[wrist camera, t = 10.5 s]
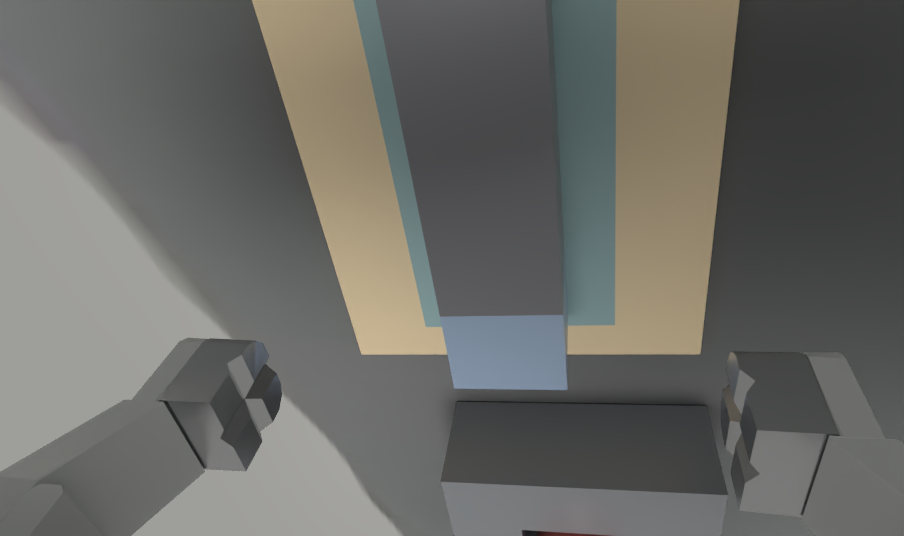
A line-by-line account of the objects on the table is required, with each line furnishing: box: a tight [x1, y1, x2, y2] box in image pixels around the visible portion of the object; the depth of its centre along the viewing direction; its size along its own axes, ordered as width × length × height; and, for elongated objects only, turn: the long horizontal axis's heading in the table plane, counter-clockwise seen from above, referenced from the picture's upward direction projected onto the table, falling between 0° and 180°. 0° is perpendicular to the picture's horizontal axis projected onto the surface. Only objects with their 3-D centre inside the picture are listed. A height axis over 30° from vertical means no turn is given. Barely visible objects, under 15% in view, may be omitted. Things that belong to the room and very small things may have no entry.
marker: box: [376, 0, 568, 390], centre depth 17 cm, size 12×4×4 cm, turn 9°
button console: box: [441, 402, 728, 536], centre depth 26 cm, size 10×10×4 cm
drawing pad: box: [252, 0, 740, 354], centre depth 19 cm, size 13×16×1 cm
